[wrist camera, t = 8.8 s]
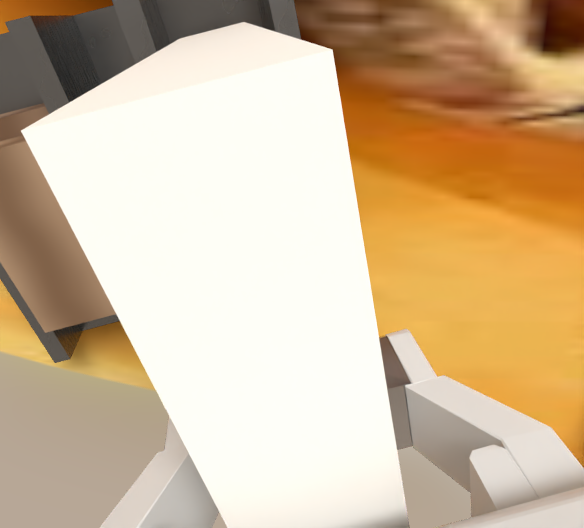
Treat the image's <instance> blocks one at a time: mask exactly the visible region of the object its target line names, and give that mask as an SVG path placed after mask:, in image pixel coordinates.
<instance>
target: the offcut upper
mask: <svg viewBox="0 0 584 528" xmlns="http://www.w3.org/2000/svg"><path fill="white" fill-rule="evenodd" d="M0 263H1V264H2V266H3V267H4V269H5V270H6V272H7V274H8V275H9V277H10V278H11V280H12V281H13V283H14V285H15V286H16V288H17V289H18V291H19V292H20V294H21V296H22V297H23V299H24V300H25V302H26V303H27V305H28V307H29V308H30V310H31V311H32V313H33V314H34V316H35V318H36V319H37V321H38V322H39V324H40V325H41V327H42V329H43V330H44V332H45V333H47V332H50V331H54V330H58V329H62V328H65V327H69V326H73V325H77V324H81V323H84V322H88V321H92V320H96V319H99V318H103V317H107V316H111V315H115V314H116V312H115V311H114V309H113V307H112V305H111V303H110V301H109V299H108V297H107V295H106V293H105V291H104V289H103V287H102V286H101V284H100V282H99V280H98V278H97V276H96V274H95V272H94V270H93V268H92V266H91V264H90V262H89V261H88V259H87V257H86V255H85V253H84V251H83V249H82V247H81V245H80V243H79V241H78V239H77V238H76V236H75V234H74V232H73V230H72V228H71V226H70V224H69V222H68V220H67V218H66V216H65V214H64V213H63V211H62V209H61V207H60V205H59V203H58V201H57V199H56V197H55V195H54V193H53V191H52V190H51V188H50V186H49V184H48V182H47V180H46V178H45V176H44V174H43V172H42V170H41V168H40V166H39V165H38V163H37V161H36V159H35V157H34V155H33V153H32V151H31V149H30V147H29V145H28V143H27V142H26V140H25V138H24V136H23V135H22V136H18V137H14V138H10V139H6V140H2V141H0Z"/></svg>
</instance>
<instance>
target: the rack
mask: <svg viewBox="0 0 584 528" xmlns="http://www.w3.org/2000/svg"><path fill="white" fill-rule="evenodd" d="M112 2H113V4H114V5H113V6H109V7H105V8H101V9H98V10H94V11H90V12H86V13H82V14H78V15H74V16H28V17H24V18H20V19H16V20H12V21H8V22H5V23H6V25H7V28H8V30H9V32H8V33H4V34H1V35H0V114H3V113H7V112H11V111H15V110H19V109H23V108H26V107H30V106H34V105H38V104H42V103H44V105H45V107H46V109H47V111H48V113H49V114H51V113H52V112H54V111H56V110H57V109H59V108H61V107H63V106H64V105H66V104H68V103H70V102H71V101H73V100H75V99H76V98H78V97H80V96H82V95H83V94H85V93H87V92H88V91H90V90H92V89H94V88H95V87H97V86H99V85H101V84H102V83H104V82H106V81H107V80H109V79H111V78H113V77H114V76H116V75H118V74H120V73H121V72H123V71H125V70H126V69H128V68H130V67H132V66H133V65H135V64H137V63H139V62H140V61H142V60H144V59H145V58H147V57H149V56H151V55H152V54H154V53H156V52H157V51H159V50H161V49H163V48H164V47H166V46H168V45H170V44H171V43H173V42H175V41H176V40H178V39H180V38H184V37H188V36H192V35H196V34H199V33H203V32H207V31H211V30H215V29H219V28H223V27H226V26H230V25H234V24H238V23H242V22H246V23H249V24H252V25H255V26H259V27H262V28H265V29H268V30H271V31H275V32H278V33H281V34H284V35H287V36H291V37H294V38H297V39H300V40H301V36H300V31H299V25H298V20H297V15H296V10H295V4H294V0H112ZM0 279H1V281H2V282H3V284H4V285H5V287H6V288H7V290H8V291H9V293H10V294H11V296H12V298H13V299H14V301H15V302H16V304H17V305H18V307H19V308H20V310H21V311H22V313H23V315H24V316H25V318H26V319H27V321H28V322H29V324H30V325H31V327H32V328H33V330H34V331H35V333H36V335H37V336H38V338H39V339H40V341H41V342H42V344H43V345H44V347H45V348H46V350H47V351H48V353H49V355H50V356H51V358H52V359H53V361H54V362H55V363H57V362H61V361H64V360H68V359H70V358H71V356H72V354H73V351H74V349H75V347H76V345H77V342H78V340H79V338H80V335H81V333H82V331H83V330H87V329H91V328H95V327H98V326H102V325H106V324H110V323H113V322H117V321H120V320H119V318H118V316H117V314H115V315H111V316H107V317H103V318H99V319H96V320H92V321H88V322H84V323H81V324H77V325H73V326H69V327H65V328H62V329H58V330H54V331H50V332H47V333H45V332H44V330H43V329H42V327H41V325H40V324H39V322H38V321H37V319H36V318H35V316H34V314H33V313H32V311H31V310H30V308H29V307H28V305H27V303H26V302H25V300H24V299H23V297H22V296H21V294H20V292H19V291H18V289H17V288H16V286H15V285H14V283H13V281H12V280H11V278H10V277H9V275H8V274H7V272H6V270H5V269H4V267H3V266H2V264H1V263H0Z"/></svg>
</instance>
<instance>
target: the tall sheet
mask: <svg viewBox="0 0 584 528" xmlns="http://www.w3.org/2000/svg"><path fill="white" fill-rule="evenodd" d="M21 132H22V134H23V136H24V138H25V140H26V142H27V143H28V145H29V147H30V149H31V151H32V153H33V155H34V157H35V159H36V161H37V163H38V165H39V166H40V168H41V170H42V172H43V174H44V176H45V178H46V180H47V182H48V184H49V186H50V188H51V190H52V191H53V193H54V195H55V197H56V199H57V201H58V203H59V205H60V207H61V209H62V211H63V213H64V214H65V216H66V218H67V220H68V222H69V224H70V226H71V228H72V230H73V232H74V234H75V236H76V238H77V239H78V241H79V243H80V245H81V247H82V249H83V251H84V253H85V255H86V257H87V259H88V261H89V262H90V264H91V266H92V268H93V270H94V272H95V274H96V276H97V278H98V280H99V282H100V284H101V286H102V287H103V289H104V291H105V293H106V295H107V297H108V299H109V301H110V303H111V305H112V307H113V309H114V311H115V312H116V314H117V316H118V318H119V320H120V322H121V324H122V326H123V328H124V330H125V332H126V334H127V335H128V337H129V339H130V341H131V343H132V345H133V347H134V349H135V351H136V353H137V355H138V357H139V359H140V360H141V362H142V364H143V366H144V368H145V370H146V372H147V374H148V376H149V378H150V380H151V382H152V383H153V385H154V387H155V389H156V391H157V393H158V395H159V397H160V399H161V401H162V403H163V405H164V407H165V408H166V410H167V412H168V414H169V416H170V418H171V420H172V422H173V424H174V426H175V428H176V430H177V431H178V433H179V435H180V437H181V439H182V441H183V443H184V445H185V447H186V449H187V451H188V453H189V455H190V456H191V458H192V460H193V462H194V464H195V466H196V468H197V470H198V472H199V474H200V476H201V478H202V480H203V481H204V483H205V485H206V487H207V489H208V491H209V493H210V495H211V497H212V499H213V501H214V503H215V504H216V506H217V508H218V510H219V512H220V514H221V516H222V518H223V520H224V522H225V523H226V526H227V528H410V527H409V522H408V515H407V509H406V503H405V496H404V490H403V484H402V478H401V472H400V466H399V459H398V453H397V447H396V441H395V434H394V428H393V422H392V416H391V410H390V403H389V397H388V391H387V385H386V379H385V373H384V366H383V360H382V354H381V348H380V342H379V335H378V329H377V323H376V317H375V311H374V304H373V298H372V292H371V286H370V280H369V273H368V267H367V261H366V255H365V249H364V242H363V236H362V230H361V224H360V218H359V211H358V205H357V199H356V193H355V187H354V180H353V174H352V168H351V162H350V156H349V150H348V143H347V137H346V131H345V125H344V119H343V112H342V106H341V100H340V94H339V88H338V81H337V75H336V69H335V63H334V57H333V50H332V49H329V48H326V47H322V46H319V45H316V44H313V43H310V42H306V41H303V40H300V39H297V38H294V37H291V36H287V35H284V34H281V33H278V32H275V31H271V30H268V29H265V28H262V27H259V26H255V25H252V24H249V23H246V22H242V23H238V24H234V25H230V26H226V27H223V28H219V29H215V30H211V31H207V32H203V33H199V34H196V35H192V36H188V37H184V38H180V39H178V40H176V41H175V42H173V43H171V44H170V45H168V46H166V47H164V48H163V49H161V50H159V51H157V52H156V53H154V54H152V55H151V56H149V57H147V58H145V59H144V60H142V61H140V62H139V63H137V64H135V65H133V66H132V67H130V68H128V69H126V70H125V71H123V72H121V73H120V74H118V75H116V76H114V77H113V78H111V79H109V80H107V81H106V82H104V83H102V84H101V85H99V86H97V87H95V88H94V89H92V90H90V91H88V92H87V93H85V94H83V95H82V96H80V97H78V98H76V99H75V100H73V101H71V102H70V103H68V104H66V105H64V106H63V107H61V108H59V109H57V110H56V111H54V112H52V113H51V114H49V115H47V116H45V117H44V118H42V119H40V120H38V121H37V122H35V123H33V124H32V125H30V126H28V127H26V128H25V129H23V130H21Z"/></svg>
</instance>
